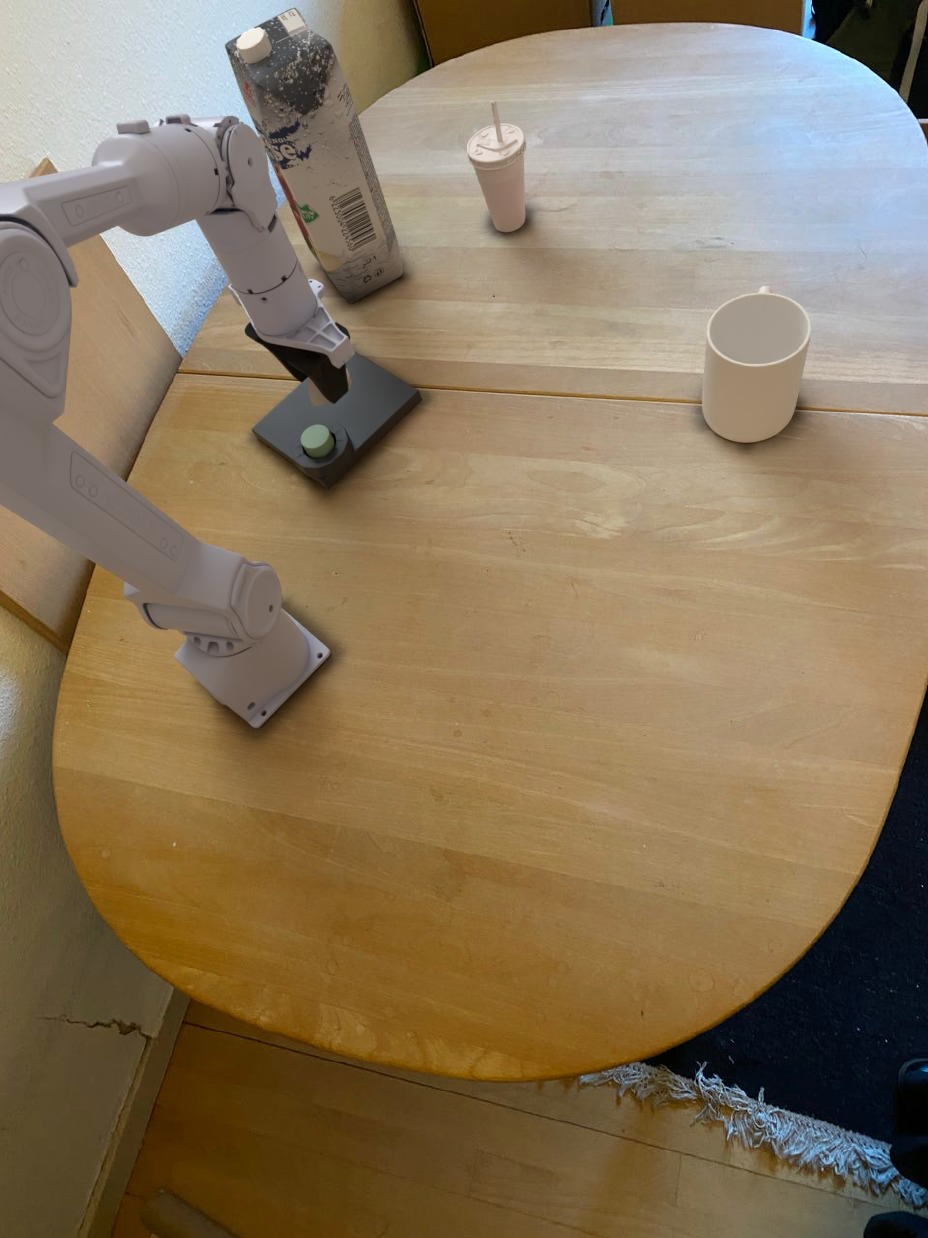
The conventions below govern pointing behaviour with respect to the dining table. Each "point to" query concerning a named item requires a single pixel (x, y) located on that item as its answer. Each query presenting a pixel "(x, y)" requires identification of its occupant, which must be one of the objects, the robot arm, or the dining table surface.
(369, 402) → the scale
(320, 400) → the beige rounded teardrop
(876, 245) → the dining table surface
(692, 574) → the dining table surface
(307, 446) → the button
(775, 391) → the cup
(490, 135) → the smoothie
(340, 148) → the juice carton
